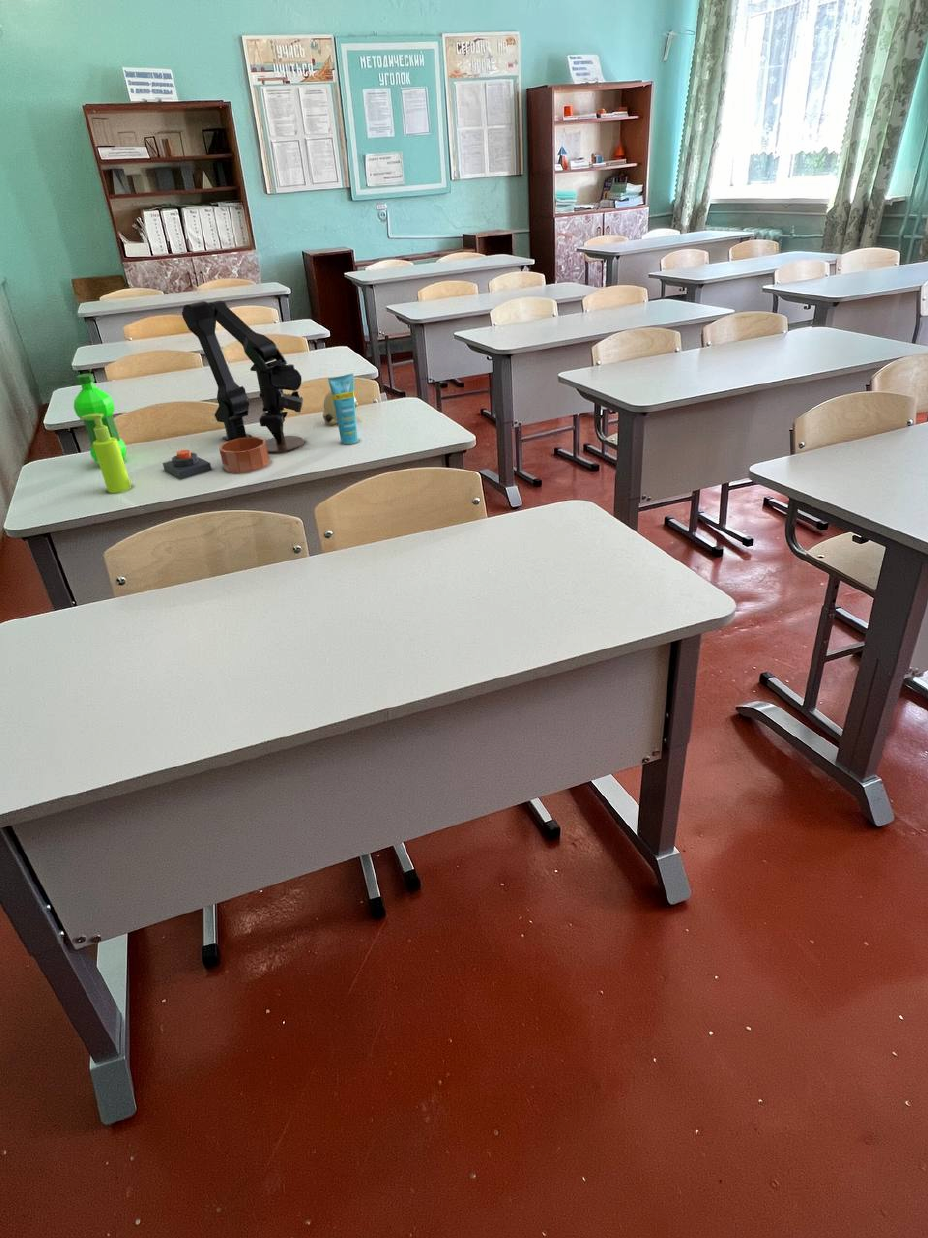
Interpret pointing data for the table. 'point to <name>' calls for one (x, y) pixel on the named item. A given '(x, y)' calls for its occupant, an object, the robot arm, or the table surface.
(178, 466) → the box
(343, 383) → the tube
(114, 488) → the soap dispenser
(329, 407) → the toy pig
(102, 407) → the plastic bottle
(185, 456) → the button
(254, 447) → the round brown pot
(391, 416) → the table surface
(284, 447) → the lid
